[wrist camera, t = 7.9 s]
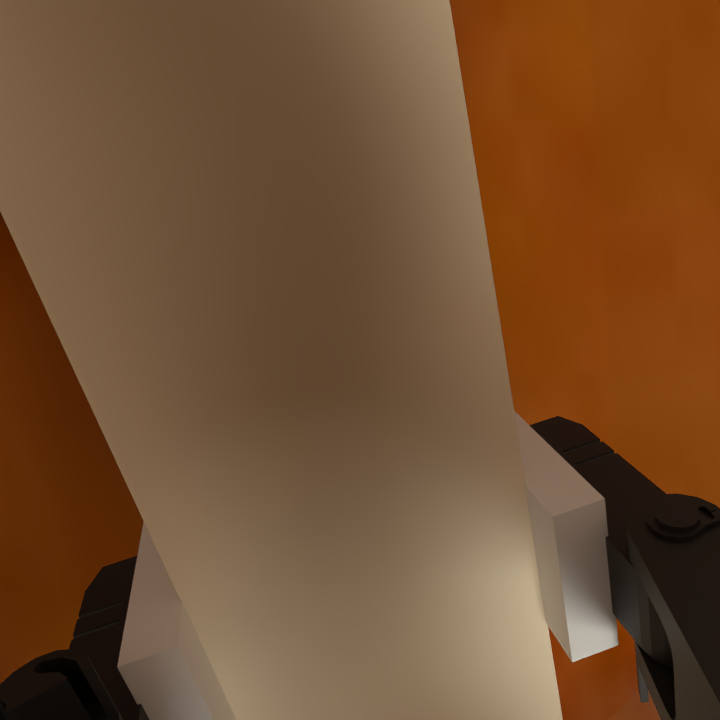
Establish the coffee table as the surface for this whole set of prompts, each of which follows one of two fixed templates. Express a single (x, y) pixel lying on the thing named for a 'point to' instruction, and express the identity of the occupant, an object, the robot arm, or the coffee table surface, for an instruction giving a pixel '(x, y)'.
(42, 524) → the coffee table surface
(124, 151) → the maple beam
